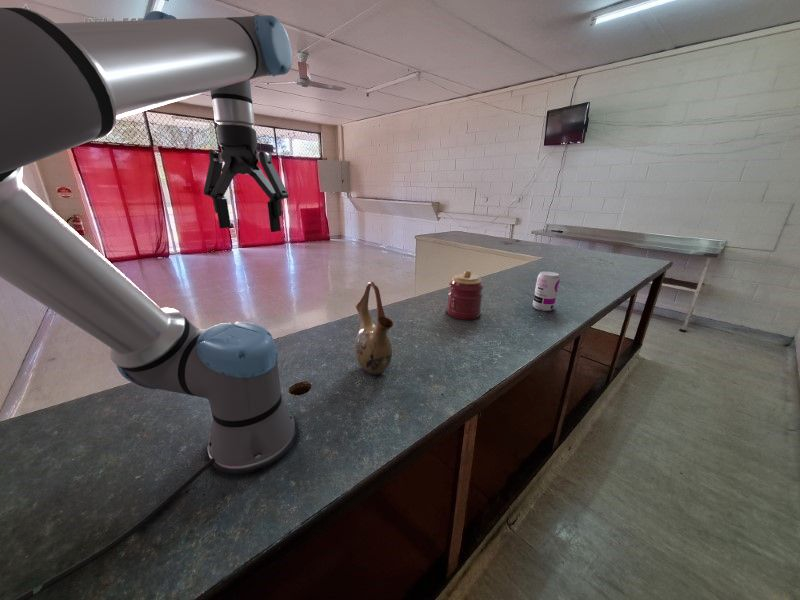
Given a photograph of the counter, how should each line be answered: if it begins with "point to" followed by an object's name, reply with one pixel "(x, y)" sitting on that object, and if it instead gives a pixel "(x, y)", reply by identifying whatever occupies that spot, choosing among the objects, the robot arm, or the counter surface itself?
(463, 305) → the kitchen canister
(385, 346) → the ceramic vessel
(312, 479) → the counter surface
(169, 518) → the counter surface
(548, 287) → the supplement can
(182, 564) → the counter surface
